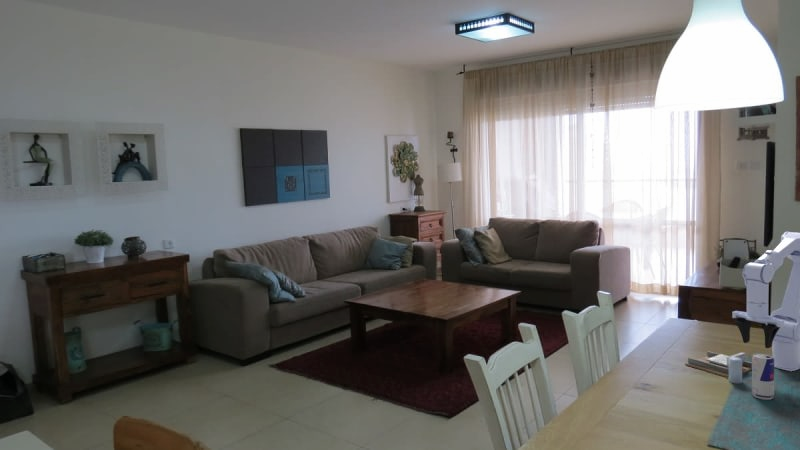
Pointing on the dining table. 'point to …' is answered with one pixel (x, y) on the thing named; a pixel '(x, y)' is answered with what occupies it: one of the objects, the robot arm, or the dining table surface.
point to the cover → (725, 359)
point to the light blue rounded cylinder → (735, 370)
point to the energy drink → (763, 376)
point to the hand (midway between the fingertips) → (757, 344)
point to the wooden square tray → (715, 365)
